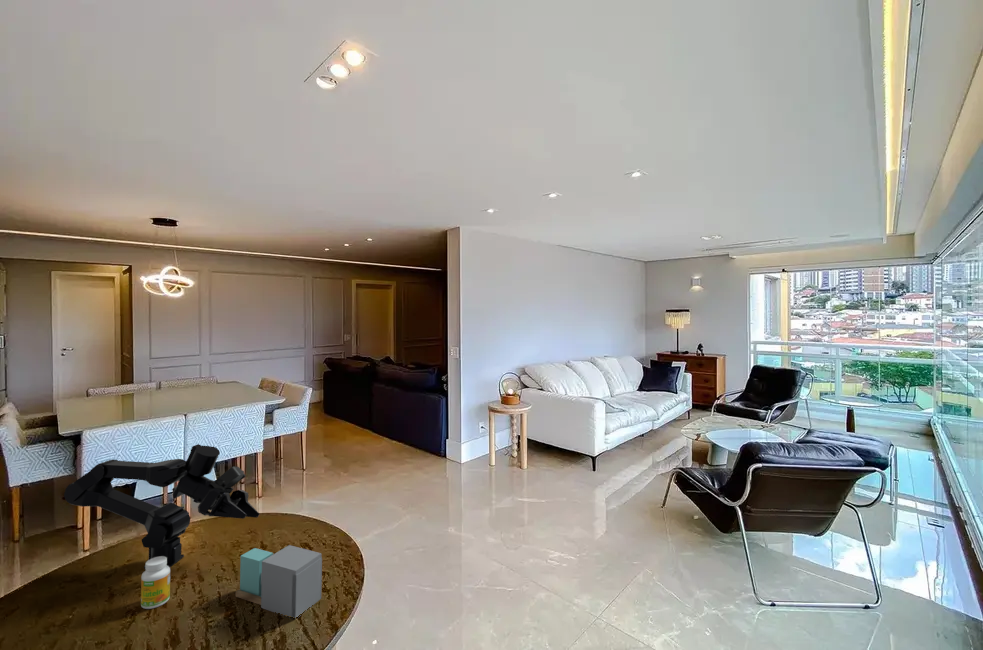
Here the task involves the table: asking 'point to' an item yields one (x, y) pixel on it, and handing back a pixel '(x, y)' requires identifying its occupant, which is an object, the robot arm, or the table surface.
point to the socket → (291, 581)
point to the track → (248, 596)
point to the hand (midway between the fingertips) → (252, 516)
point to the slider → (252, 570)
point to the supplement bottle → (155, 583)
